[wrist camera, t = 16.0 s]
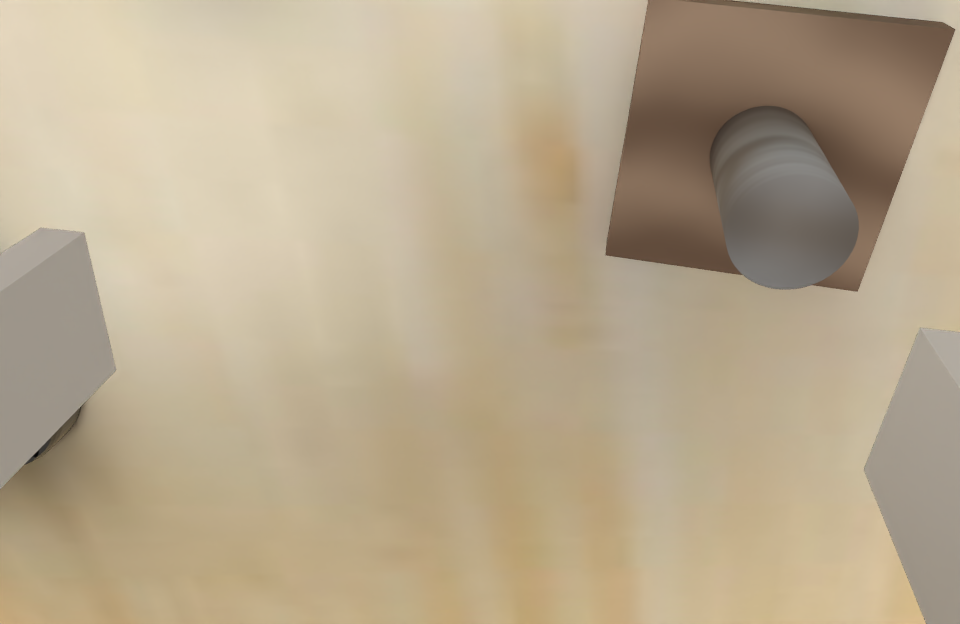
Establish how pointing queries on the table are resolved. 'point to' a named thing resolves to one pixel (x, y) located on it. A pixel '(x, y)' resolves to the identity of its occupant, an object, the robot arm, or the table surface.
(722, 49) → the post stand
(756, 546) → the table surface
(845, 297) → the table surface
